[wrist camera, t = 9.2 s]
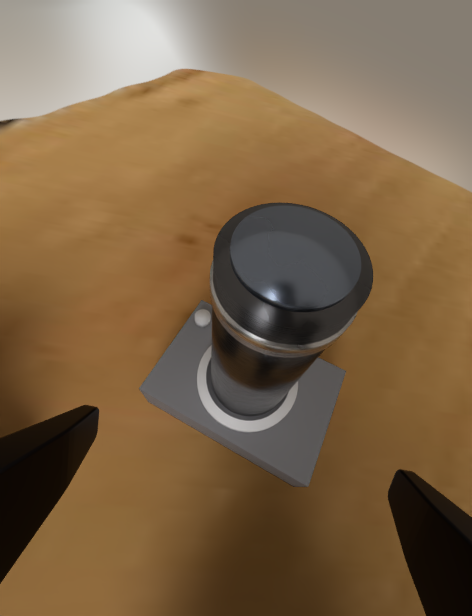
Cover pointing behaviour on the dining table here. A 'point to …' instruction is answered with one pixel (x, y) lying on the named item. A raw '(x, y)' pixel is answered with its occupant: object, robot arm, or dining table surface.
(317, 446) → the grey rectangular block
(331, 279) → the dark grey cylinder
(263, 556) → the dining table surface
